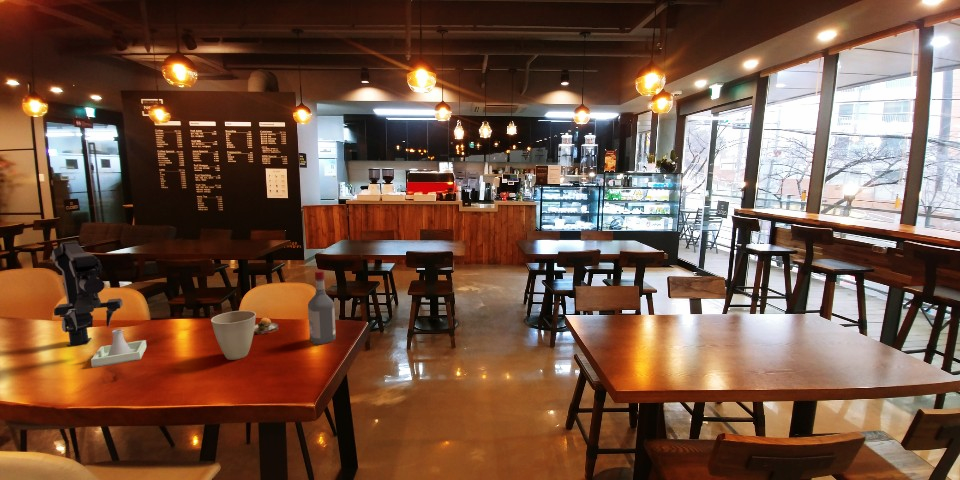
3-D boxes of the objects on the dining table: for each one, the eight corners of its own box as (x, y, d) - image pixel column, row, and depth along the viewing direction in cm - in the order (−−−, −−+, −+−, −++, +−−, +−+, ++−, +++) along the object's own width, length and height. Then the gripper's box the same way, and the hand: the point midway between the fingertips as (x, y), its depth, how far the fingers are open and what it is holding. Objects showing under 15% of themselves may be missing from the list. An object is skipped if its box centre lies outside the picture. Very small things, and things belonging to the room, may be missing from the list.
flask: (118, 360, 162) (115, 334, 160) (103, 358, 163) (99, 333, 161) (137, 352, 169) (134, 328, 167) (121, 351, 170) (119, 326, 168)
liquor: (316, 346, 177) (312, 275, 173) (308, 339, 184) (304, 271, 180) (337, 340, 183) (334, 271, 179) (329, 334, 190) (325, 268, 186)
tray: (101, 353, 168) (101, 346, 168) (146, 347, 175) (145, 340, 175) (91, 367, 156) (90, 359, 156) (140, 359, 163) (139, 352, 163)
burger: (270, 324, 204) (269, 309, 203) (283, 329, 197) (282, 313, 196) (244, 331, 194) (243, 315, 193) (257, 337, 187) (256, 320, 186)
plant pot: (205, 360, 163) (201, 320, 160) (239, 346, 176) (236, 308, 174) (234, 366, 158) (231, 325, 155) (267, 351, 171) (264, 313, 169)
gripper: (46, 297, 150) (51, 339, 153) (115, 291, 160) (119, 331, 162) (56, 289, 159) (61, 329, 162) (120, 283, 169) (125, 321, 172)
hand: (92, 328), depth 164 cm, fingers open, 9 cm apart
